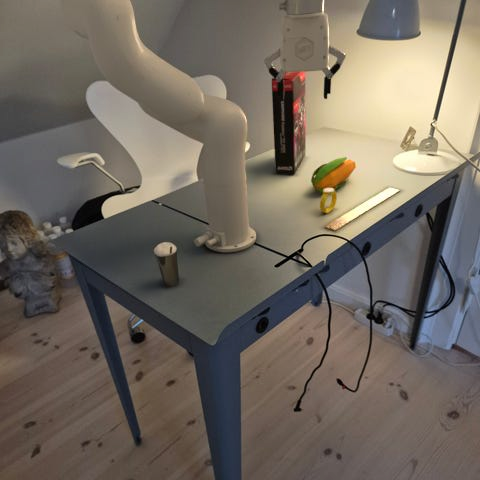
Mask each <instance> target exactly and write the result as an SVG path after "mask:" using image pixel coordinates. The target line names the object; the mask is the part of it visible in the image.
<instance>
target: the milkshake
mask: <svg viewBox="0 0 480 480" xmlns="http://www.w3.org/2000/svg"><path fill="white" fill-rule="evenodd" d="M153 252H154V255H155V259H156V262H157V265H158V268H159V271H160V275H161V278H162V281H163V284H164V286H166V287H169V288H170V287H176V286H177V285H178V284H179V283H180V274H179V263H178V250H177V246H176V245H175V244H173V243H172V242H169V241H163V242H161V243H159V244H157V246H155V247H154V249H153Z"/></svg>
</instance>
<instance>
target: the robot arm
mask: <svg viewBox="0 0 480 480" xmlns="http://www.w3.org/2000/svg"><path fill="white" fill-rule="evenodd" d="M278 3H279V4H278V6H279V11H283V12H286V13H285V14H286V15H285V16H283V17H282V20H281V29H280V48H278V49H277V50H275V51H274V52H271V54H269V55H267V56H266V57H265V58H264V60H263V62H264V65H265V67H266V69H267V72H268V73H269V74H270V75H271V76H272V78H273V77H274V78H275V79H276V81H277V87H278V97H279V96H281V101H284V80H283V77H284V75H285V74H286V73H287V72H305V73H306V72H319V71H322V72H323V74H324V75H325V76H324V77H323V99H324V100H328V95H331V94H332V93H331V92H332V91H331V90H332V89H331V88H332V79H333V77H334V76H335V75H336V73H337V72H338V71H339V70H340V69H341V67H342V65H343V63H344V61H345V59H346V56H347V55H346V53H345V52H343V51H341V50H339V49H337V48H336V47H334V46H332V45H331V44H330V28H329V27H330V25H329V18H328V17H329V16H328V13H326V12H324V10H325V0H283V1H279V2H278ZM60 10H61V11H60V12H61V15H62V17H63V20H64V22H65V23H66V25H67V27H68V28H69V29H70V30H71V31H72V32H73V33H74V34H75V35H77V36H78V37H81V38H82V39H86V40H88V41H89V46H90V49H91V54H92V56H93V58H94V62H95V63H96V66H97V67H98V69H99V72H100V73H101V74H102V76H103V77H104V79H105V80H106V81H107V82H108V83H109V85H111V86H112V87H113V88H114V89H116V90H117V91H119V92H120V93H122V94H123V95H125V96H126V97H128V98H129V99H132V100H133V101H135V102H136V103H137V104H138V106H139V107H140V109H141V110H142V111H143V112H144V113H145V114H146V115H148V116H149V117H151V118H153V119H154V120H156V121H158V122H160V123H162V124H163V125H165V126H167V127H169V128H170V129H173V130H174V131H176V132H178V133H180V134H182V135H184V136H186V137H187V138H190V139H192V140H194V141H196V142H198V143H201V144H202V145H203V147H204V151H203V156H202V162H201V172H202V173H201V174H202V180H203V186H204V195H205V203H206V212H207V220H208V226H206V227H205V232H204V233H203V235H200V236H198V237H196V238H194V240H193V242H194V245H195V246H196V247H201V246H203V245H204V244H205V246H206V247H207V248H208V249H210V250H212V251H214V252H218V253H236V252H241V251H244V250H246V249H248V248H250V247H252V246H253V245H254V244H255V243H256V240H257V232H256V231H255V230H254V229H253V228H252V227H250V219H249V204H248V189H247V188H248V187H247V186H248V185H247V171H246V148H247V147H246V146H247V139H248V138H247V137H248V121H247V117H246V115H245V113H244V111H243V110H242V108H241V107H240V106H239V105H238V104H237V103H236V102H233V101H232V100H230V99H225V98H222V97H219V96H214V95H210V94H207V93H204V92H202V89H201V87H200V86H199V84H198V83H197V82H196V81H195V80H194V78H192V77H191V76H190V75H188V73H186V72H183V71H182V70H180V69H178V68H177V67H175V66H173V65H172V64H170V63H169V62H167V61H166V60H164V59H163V58H161V57H160V56H158V55H157V54H156V53H154V52H153V51H152V50H150V49H149V48H148V47H147V46H146V45H145V44H144V43H143V41H142V40H141V38H140V35H139V33H138V29H137V25H136V24H137V23H136V17H135V10H134V6H133V4H132V2H131V0H60ZM330 55H331V56H333V57H335V58H337V59H336V61H335V63H334V65H332V67H330V66H329V61H330ZM279 58H280V59H279ZM277 59H279V60H280V70H279V71H278V70H277V69H276V67H274V65H273V62H274V61H275V60H277Z"/></svg>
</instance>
